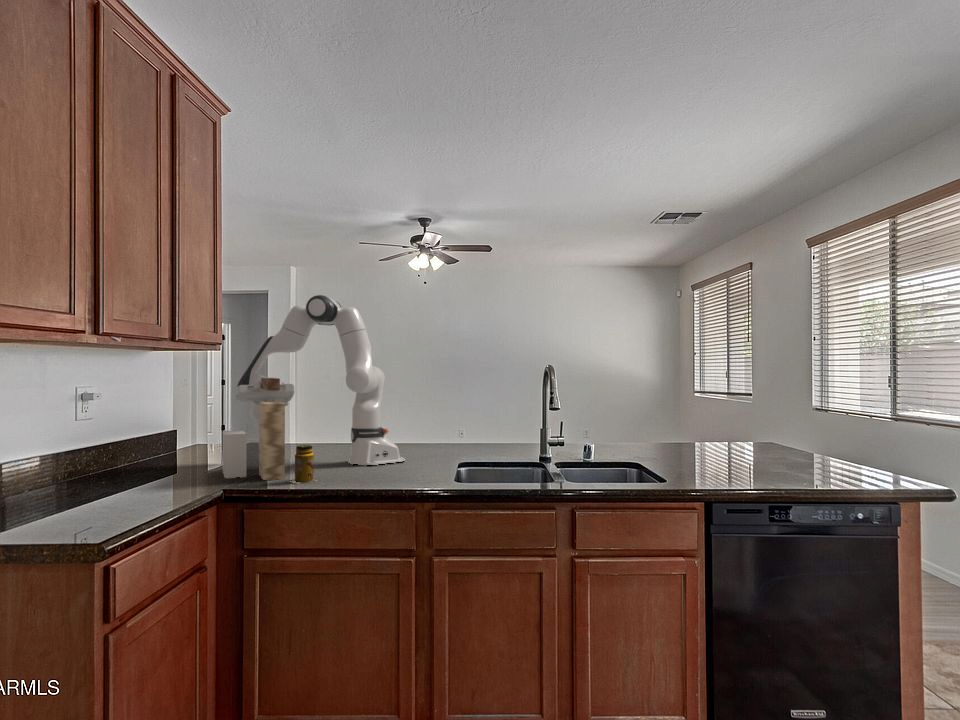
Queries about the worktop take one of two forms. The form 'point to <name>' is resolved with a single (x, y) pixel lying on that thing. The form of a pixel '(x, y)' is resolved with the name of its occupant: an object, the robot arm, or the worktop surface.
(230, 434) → the step
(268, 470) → the stand
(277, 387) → the bar
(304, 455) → the condiment
